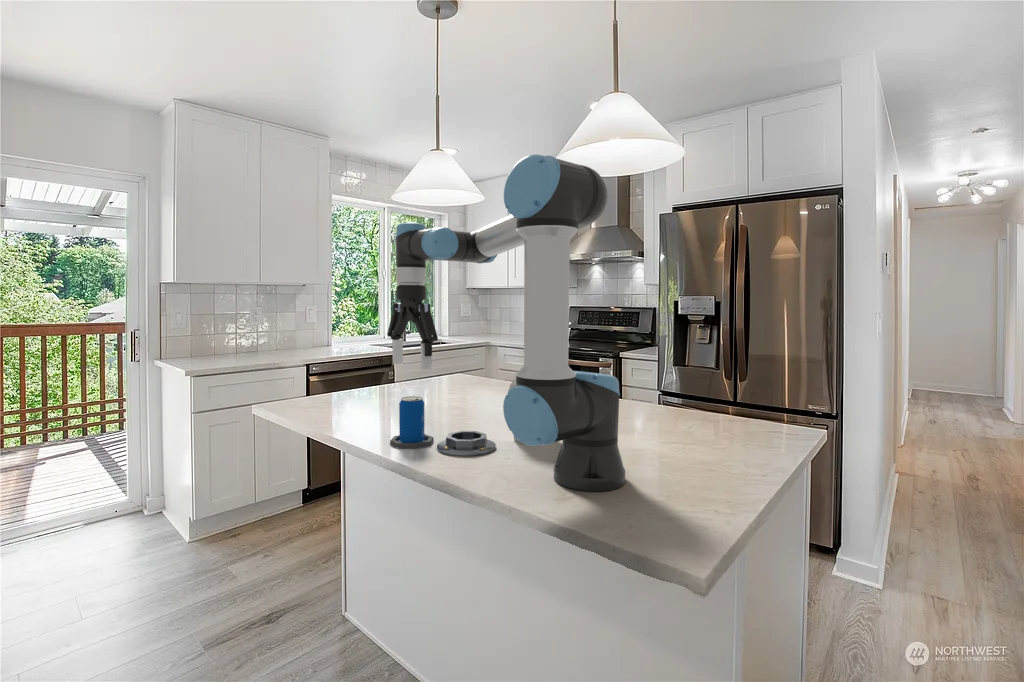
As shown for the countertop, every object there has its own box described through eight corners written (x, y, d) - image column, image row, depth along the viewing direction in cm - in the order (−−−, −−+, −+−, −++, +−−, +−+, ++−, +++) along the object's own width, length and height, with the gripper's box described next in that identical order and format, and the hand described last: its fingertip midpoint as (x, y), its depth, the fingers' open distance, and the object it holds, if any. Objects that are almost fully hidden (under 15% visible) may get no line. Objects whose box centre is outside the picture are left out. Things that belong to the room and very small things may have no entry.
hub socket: (507, 448, 137) (507, 436, 137) (461, 460, 127) (461, 447, 126) (471, 437, 148) (471, 425, 147) (425, 447, 138) (425, 434, 137)
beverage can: (419, 447, 137) (418, 401, 136) (395, 445, 139) (395, 400, 138) (428, 440, 144) (427, 396, 143) (405, 439, 145) (405, 395, 144)
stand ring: (440, 443, 141) (440, 439, 141) (405, 451, 134) (405, 446, 134) (418, 435, 149) (418, 431, 149) (384, 442, 141) (384, 438, 141)
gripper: (451, 284, 131) (451, 370, 133) (398, 285, 149) (398, 360, 151) (426, 283, 126) (426, 372, 128) (374, 284, 144) (374, 362, 146)
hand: (411, 366), depth 140 cm, fingers open, 13 cm apart
